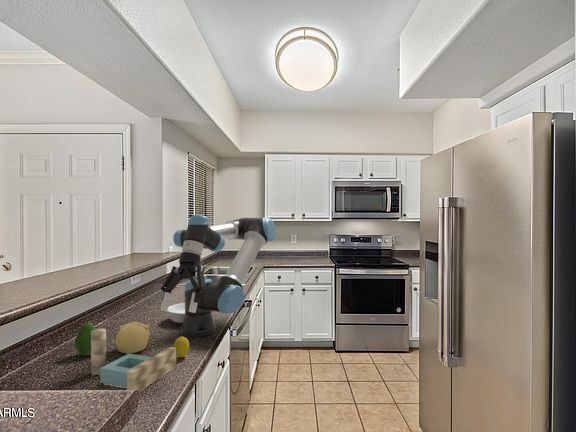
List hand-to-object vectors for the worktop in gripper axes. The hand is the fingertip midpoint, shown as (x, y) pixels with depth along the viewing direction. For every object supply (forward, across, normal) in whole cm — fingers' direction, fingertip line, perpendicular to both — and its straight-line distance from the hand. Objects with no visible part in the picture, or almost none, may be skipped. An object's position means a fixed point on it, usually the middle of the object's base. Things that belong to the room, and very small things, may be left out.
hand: (177, 311), depth 125 cm
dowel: (+22, -19, -10) cm, 31 cm away
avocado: (+18, -37, -4) cm, 41 cm away
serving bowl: (-2, -33, +42) cm, 53 cm away
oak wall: (+22, +1, -4) cm, 23 cm away
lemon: (+15, -4, +11) cm, 19 cm away
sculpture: (+15, -26, +7) cm, 30 cm away
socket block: (+23, -6, -7) cm, 25 cm away
